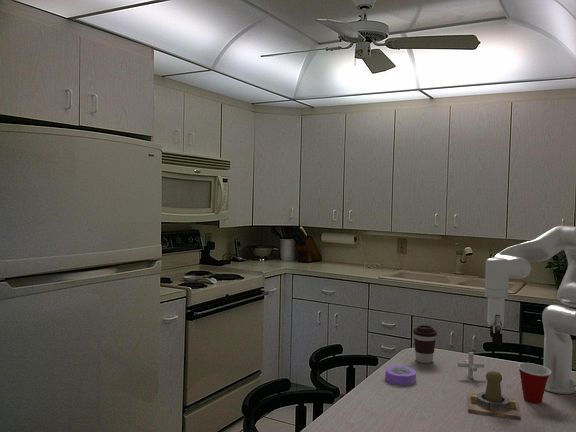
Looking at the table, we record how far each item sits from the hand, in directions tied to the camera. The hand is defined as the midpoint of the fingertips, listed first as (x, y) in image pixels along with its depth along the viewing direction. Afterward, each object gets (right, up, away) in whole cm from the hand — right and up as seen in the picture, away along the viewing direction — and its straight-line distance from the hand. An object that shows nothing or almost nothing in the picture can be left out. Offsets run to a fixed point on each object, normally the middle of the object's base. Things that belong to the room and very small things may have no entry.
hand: (496, 340), depth 184 cm
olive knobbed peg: (-3, -21, -5) cm, 22 cm away
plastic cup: (+13, -22, 0) cm, 26 cm away
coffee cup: (-14, -20, +44) cm, 50 cm away
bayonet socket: (-3, -21, -5) cm, 22 cm away
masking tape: (-30, -20, +19) cm, 41 cm away
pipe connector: (-1, -21, +23) cm, 31 cm away
